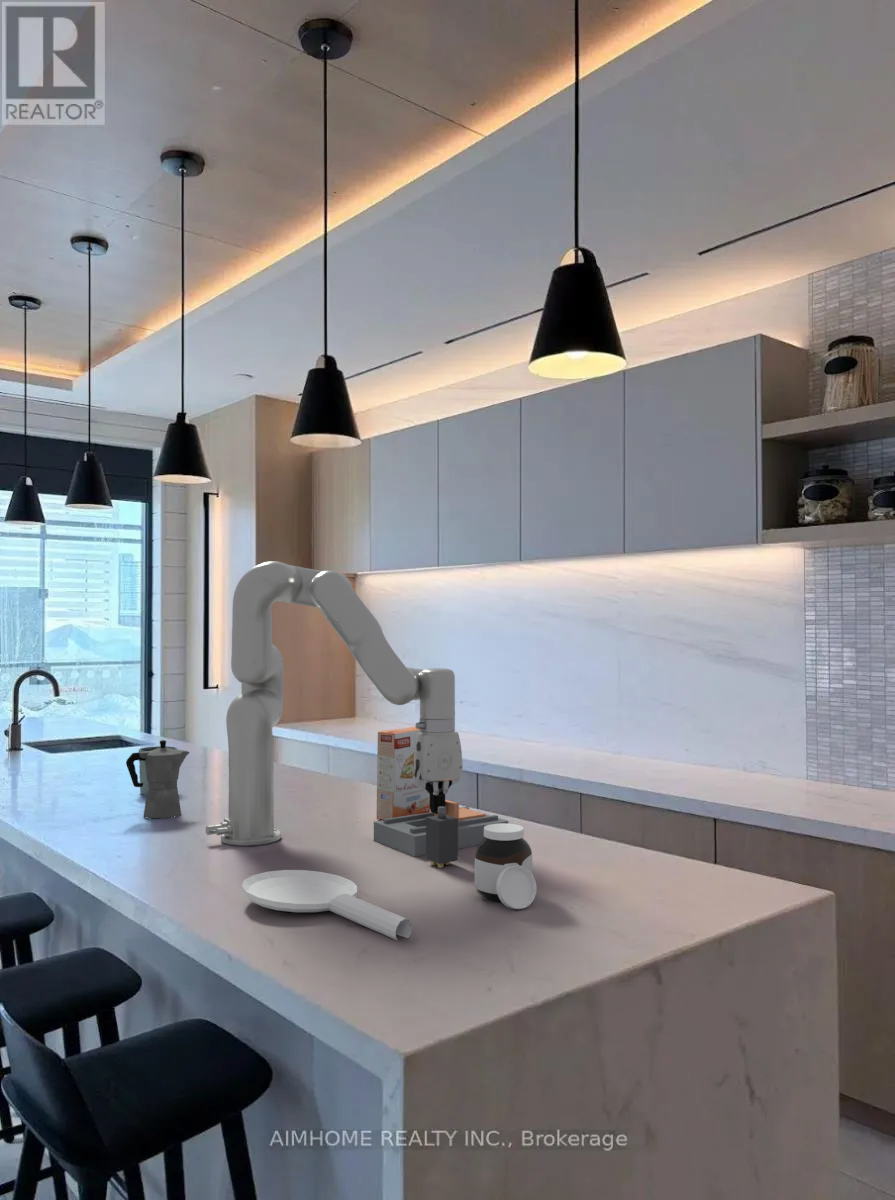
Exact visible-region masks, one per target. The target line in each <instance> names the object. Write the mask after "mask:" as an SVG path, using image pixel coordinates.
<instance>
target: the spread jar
mask: <svg viewBox="0 0 895 1200" xmlns="http://www.w3.org/2000/svg"><path fill="white" fill-rule="evenodd" d="M524 830H525V829H524V827H523V826H521V825H518V824H514V823H508V824H506V823H499V824H490V825H487V826H485V827H484V837H485V838H484V839H483V840H482V842H481V843H480V845H477V849H476V851H475V855H474V886H475V889H476V891H477V893H478V894H479V895H480V896H481V897H482V898H483V899H485V900H487V901H490V902H493V903H500V904H501V903H502V904H503V905H504V906H505V907H506V908H508V909H512V910H520V909H521V910H522V909H525V908H527V907H529V906H530V905H531V904H532V903H533V902H534V900H535V898H536V894H537V891H538V890H537V887H538V886H537V882H536V878H535V876H534V875H533V852H532V847H531V845H530V844H529V843H528V841H526V840H525V838H524V835H525V831H524Z"/></svg>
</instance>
